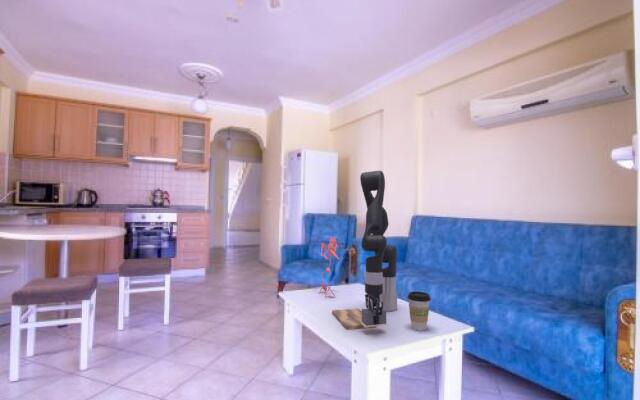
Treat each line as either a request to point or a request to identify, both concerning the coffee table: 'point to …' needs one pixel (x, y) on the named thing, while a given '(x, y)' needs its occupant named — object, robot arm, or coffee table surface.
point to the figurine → (332, 250)
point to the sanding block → (372, 318)
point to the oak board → (349, 318)
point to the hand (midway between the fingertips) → (373, 321)
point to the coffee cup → (419, 310)
